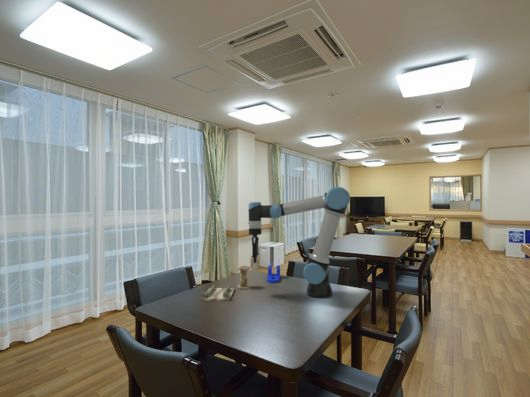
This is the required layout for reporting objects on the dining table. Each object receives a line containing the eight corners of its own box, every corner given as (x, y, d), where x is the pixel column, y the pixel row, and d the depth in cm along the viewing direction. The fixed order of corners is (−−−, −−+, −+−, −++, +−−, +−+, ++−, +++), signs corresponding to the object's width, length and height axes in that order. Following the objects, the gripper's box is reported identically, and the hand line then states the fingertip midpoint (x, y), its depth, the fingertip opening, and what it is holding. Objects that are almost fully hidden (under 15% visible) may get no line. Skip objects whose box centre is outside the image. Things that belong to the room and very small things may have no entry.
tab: (259, 266, 171) (259, 255, 172) (259, 268, 166) (258, 256, 167) (251, 266, 172) (251, 255, 172) (250, 268, 167) (250, 256, 167)
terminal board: (234, 289, 179) (234, 284, 179) (229, 300, 159) (229, 294, 159) (209, 289, 180) (209, 283, 180) (201, 300, 160) (201, 294, 160)
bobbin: (250, 285, 188) (250, 266, 188) (249, 289, 180) (249, 268, 180) (238, 285, 188) (238, 266, 188) (236, 289, 180) (236, 268, 180)
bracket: (268, 276, 212) (268, 264, 212) (280, 276, 211) (280, 264, 211) (266, 283, 194) (266, 270, 194) (278, 283, 193) (278, 270, 193)
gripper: (250, 226, 179) (250, 263, 178) (247, 229, 161) (247, 270, 160) (262, 226, 178) (262, 263, 178) (260, 229, 160) (260, 270, 160)
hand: (255, 266), depth 169 cm, fingers closed on tab, 5 cm apart
